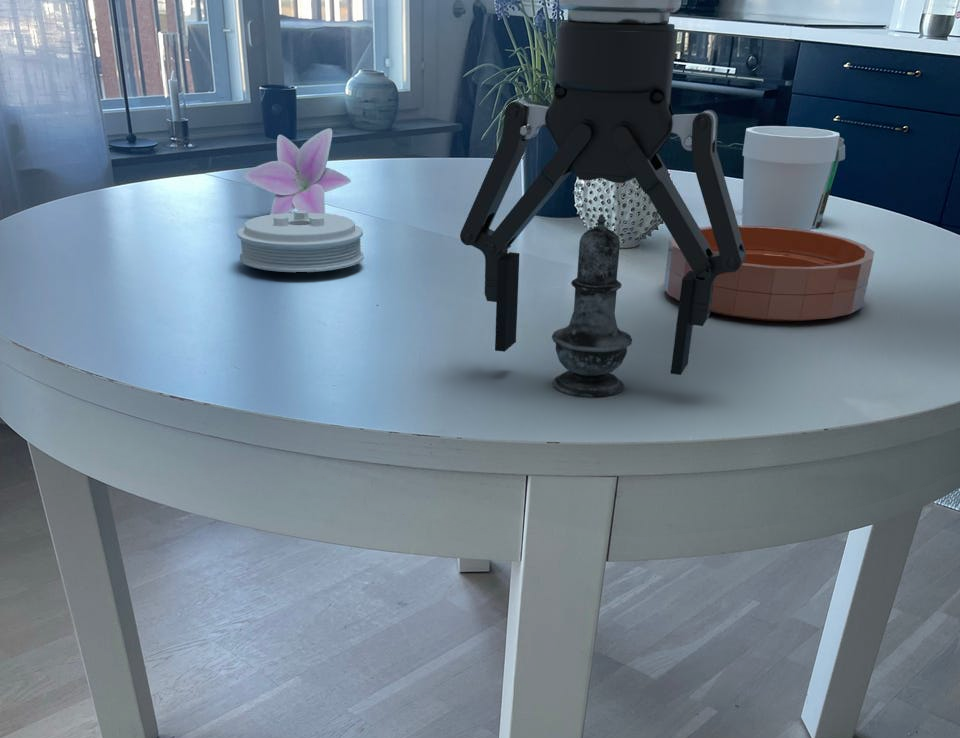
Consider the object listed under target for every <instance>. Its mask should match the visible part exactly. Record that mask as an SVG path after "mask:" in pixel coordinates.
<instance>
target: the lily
mask: <svg viewBox="0 0 960 738" xmlns="http://www.w3.org/2000/svg"><path fill="white" fill-rule="evenodd" d="M276 139H277V140H276V157H277V160H273V161H268V162H264V163H261V164H259V165H257V166H255V167H252V168H250V169H249V170H247V171H245V172H244V174H243V175H242V176H243V178H244V179H245V180H246V181H247V182H249V183H251V184H253V185H254V186H257V187H259V188H261V189H263V190H265V191H267V192H268V193H269V192H270V193H272V194H274V198H273V200H272V205H271V209H270V215H272V214H282V213H292V211H294V209H296V211H307V212H308V213H321V214H326V206H325V205H326V204H325V203H326V202H325V201H326V199H325V193H327V192H331V191H333V190H336V189H338V188H339V189H340V188H342V187H344V186H346V185H349V184H351V182H352V180H351V179H350V178H349V177H348V176H347V175H345V174H343V173H342V172H340V171H337V170H335V169H333V168H330V167H327V164H328V161H329V156H330V155H329V154H330V150H331V145H332V141H333V140H332V139H333V129H332V128H331V127H330V128H325V129H323V130H321V131H319V132H318V133H316V134H315V135H313V136H312V137H310V138H309V139H307V140H306V141H305V142H304V143H303V144H302V145H301V146H300V148H299V147H298V146H297V145H296V144H295V143H293V141H291V140H290V139H289V138H287V137H286V136H284V135H283V134H278V135H277V138H276Z"/></svg>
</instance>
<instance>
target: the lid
mask: <svg viewBox="0 0 960 738" xmlns="http://www.w3.org/2000/svg"><path fill="white" fill-rule="evenodd" d="M236 234H237V235H236V236H237V238H238V239H240V245H241V253H240V255H239V261H240V262H241V263H242V264H244V265H245V266H248V267H251V268H255V269H257V270H258V269H259V270H264V271H269V272H271V271H272V272H282V273H283V272H284V273H296V272H307V273H315V272H326V271H335V270H340V269H341V270H342V269H345V268H348V267H353V266H355V265H358V264H359V263H361V262H363V260H364V259H365V254H364V252H363V251H362V248H361V247H362V245H361V238H362V237H363V235H364V231H363V228H361V226H359V225H356V223H355V221H354V220H353V219H351V218H348V217H345V216H342V215H337V214H332V213H331V214H330V213H325V214H321V213H308V212H307V211H298V210H296V211H293V212H289V213H282V214H272V215H271V214H266V215H261V216H255V217H253V218H250V219H248V220H246V221H245V222H244V224H243V226H242V227H240V228H239V229H237V231H236Z"/></svg>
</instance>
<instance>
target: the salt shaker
mask: <svg viewBox="0 0 960 738" xmlns="http://www.w3.org/2000/svg"><path fill="white" fill-rule="evenodd" d="M596 222H597V225H595V226H594V227H593V228H591V229H588V230H587V231H585V232H584V233H583V234H582V235H581V237H580V239H579V245H578V258H577V259H578V260H577V273H576V274H577V275H576V276H577V277H576V278H575V279H574V278H573V279H572V281H571V283H570V284H571V286H572V287H574V289H575V290H574V299H573V300H574V302H573V311H572V315H571V318H570V321H569V324H568V325H567V326H565V327H562V328H559V329H557V330H555V331H554V332H553V333H552V335H551V339H552V341H553V343H555V352H556V355H557V358H558V361H559V363H560V364H561V365H562V366H563V367H564V368H565V369H566V371H564V372H562V373H561V374H560V375H558V376H556V377H555V378H554V379H553V381H552V385H553V387H554V388H555V389H556V390H558V391H559V392H561V393H564V394H568V395H572V396H577V397H583V398H585V397H586V398H601V397H603V398H604V397H609V396H614V395H616V394H620V393H621V392H622V391H623V390H624V387H625V384H624V382H623V381H622V380H621V379H620V378H618V377H617V376H616V375H614V374H612V373H613V372H614V371H615V370H617V369H618V368H619V367H620V366H621V365H622V364H623V362H624V360H625V358H626V356H627V354H628V348H629V347H630V346H631V345H632V343H633V340H634V339H633V337H632V336H631V335H630V334H629V333H628V332H625V331H623V330H621V329H620V328H619V327H618V326H617V319H616V302H617V295H618V294H617V292H618V291H619V289H621V288H622V283H621V282H620V281H619V280H618V267H619V260H620V259H619V258H620V249H621V247H620V246H621V240H620V238H619V236H618V234H617V233H615V232H614V231H613V230H610V229H609V228H608V227H607V226H605V223H606V222H607V219H606V217H605V216H604V214H602V213H601V214H600V215H599V216H598V219H596Z"/></svg>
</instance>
